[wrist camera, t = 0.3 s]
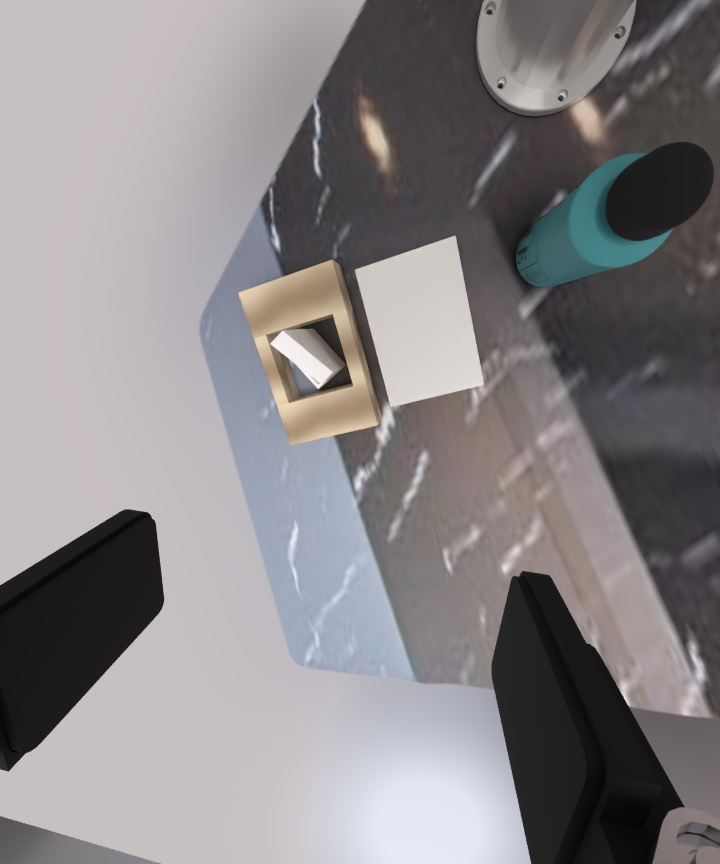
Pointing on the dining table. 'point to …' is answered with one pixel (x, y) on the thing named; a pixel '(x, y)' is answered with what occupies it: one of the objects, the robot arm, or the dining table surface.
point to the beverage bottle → (616, 214)
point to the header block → (268, 316)
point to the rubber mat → (421, 323)
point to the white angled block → (309, 354)
